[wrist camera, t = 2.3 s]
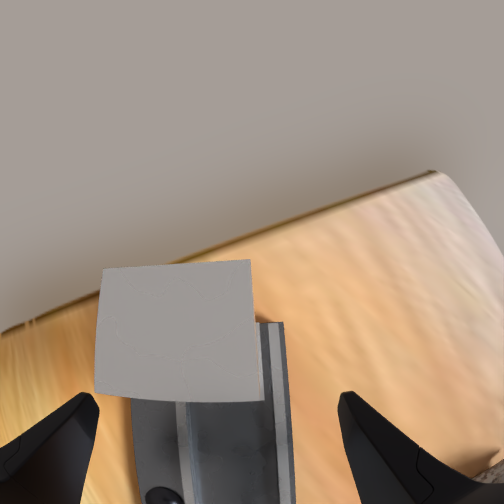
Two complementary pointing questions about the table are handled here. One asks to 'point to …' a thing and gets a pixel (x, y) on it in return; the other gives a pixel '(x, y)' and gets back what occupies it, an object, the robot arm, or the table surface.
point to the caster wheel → (492, 474)
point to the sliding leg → (179, 333)
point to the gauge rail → (220, 442)
